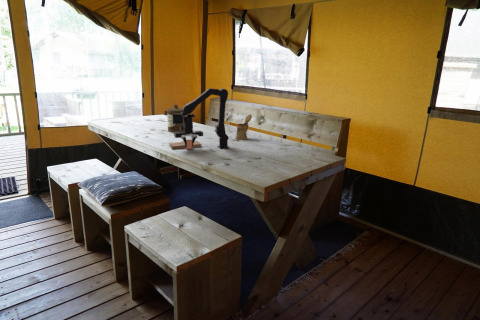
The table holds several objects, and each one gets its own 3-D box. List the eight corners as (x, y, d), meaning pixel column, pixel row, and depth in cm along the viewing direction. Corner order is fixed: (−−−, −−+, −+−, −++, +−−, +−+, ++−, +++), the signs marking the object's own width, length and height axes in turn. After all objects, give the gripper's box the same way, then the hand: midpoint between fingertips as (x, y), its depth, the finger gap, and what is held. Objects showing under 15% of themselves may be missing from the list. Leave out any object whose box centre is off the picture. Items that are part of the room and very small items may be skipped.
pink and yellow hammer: (192, 148, 223) (192, 140, 222) (187, 149, 222) (186, 141, 220) (187, 144, 235) (187, 136, 233) (182, 144, 234) (182, 136, 232)
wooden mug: (254, 138, 258) (254, 115, 253) (240, 140, 250) (240, 116, 245) (247, 136, 265) (247, 113, 260) (233, 138, 257) (233, 115, 252)
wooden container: (164, 130, 282) (163, 104, 276) (179, 128, 292) (178, 102, 285) (173, 133, 272) (172, 106, 265) (189, 131, 281) (188, 104, 275)
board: (201, 146, 230) (201, 143, 230) (172, 149, 223) (172, 146, 223) (197, 143, 239) (197, 140, 239) (169, 145, 232) (169, 142, 232)
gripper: (199, 121, 230) (199, 143, 235) (171, 122, 223) (172, 144, 228) (203, 123, 220) (203, 146, 225) (175, 125, 214) (176, 148, 218)
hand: (188, 146), depth 224 cm, fingers closed on pink and yellow hammer, 3 cm apart
